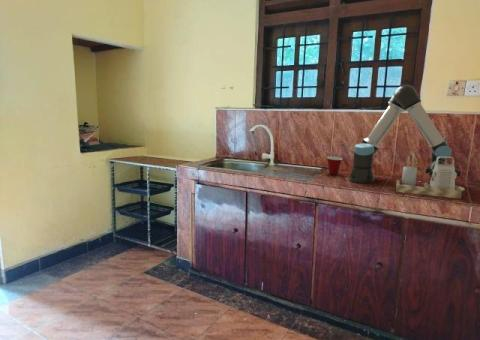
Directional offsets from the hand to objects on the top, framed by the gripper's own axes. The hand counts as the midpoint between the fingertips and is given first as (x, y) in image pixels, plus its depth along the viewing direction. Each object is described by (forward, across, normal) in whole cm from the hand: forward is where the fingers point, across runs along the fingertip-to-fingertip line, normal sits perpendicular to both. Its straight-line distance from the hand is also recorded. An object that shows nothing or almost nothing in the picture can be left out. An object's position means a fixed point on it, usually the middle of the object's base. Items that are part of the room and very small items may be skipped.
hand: (444, 175), depth 160 cm
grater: (-5, 0, -11) cm, 12 cm away
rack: (-5, +7, -11) cm, 14 cm away
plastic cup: (-32, +62, -11) cm, 71 cm away
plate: (-21, -8, -11) cm, 25 cm away
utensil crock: (-5, +16, -11) cm, 20 cm away
